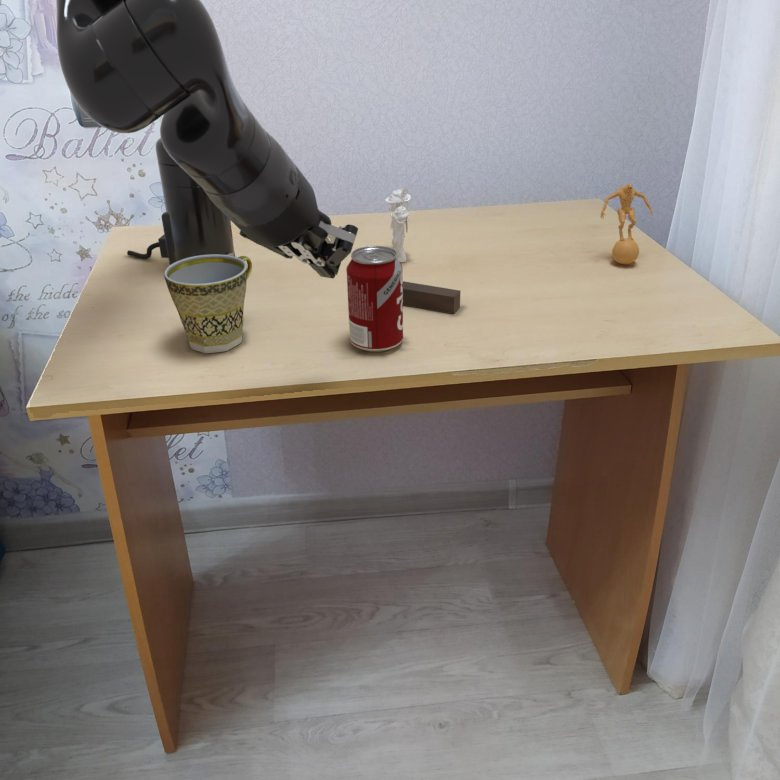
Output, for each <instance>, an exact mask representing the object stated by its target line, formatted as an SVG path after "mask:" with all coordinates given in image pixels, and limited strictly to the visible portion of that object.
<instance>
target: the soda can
mask: <svg viewBox="0 0 780 780" xmlns="http://www.w3.org/2000/svg"><path fill="white" fill-rule="evenodd" d="M350 258H351V259H350V261H349V263H348V264H347V266H346V285H347V286H346V288H347V310H348V328H349V329H348V331H349V332H348V333H349V341H350V343H351V345H353V346H354V347H355V348H358V349H359V350H362V351H365V352H369V353H383V352H386V351H387V352H388V351H390V350H392V349H393V348H396V347H398V346H400V344H402V342H403V340H404V305H403V281H404V280H403V279H404V278H403V275H404V273H403V271H404V270H403V269H404V268H403V265H402V262H399V261H398V259H397V252H396V251H395V250H394V249H393V247H390V246H389V247H388V246H384V245H367V246H362V247H358V248H356V249H354V250H353V251H351V253H350Z"/></svg>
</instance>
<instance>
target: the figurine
mask: <svg viewBox="0 0 780 780" xmlns="http://www.w3.org/2000/svg"><path fill="white" fill-rule="evenodd" d="M617 197H618V199H619V203H620V207H619V208H617V211H616V212H617V216H618V217H617V218H618V221H619V225H618V232H619V234H618V235H619V240H618V241H617V242H615V243H614V245H613V247H612V250H611V254H612V257H613V259H614V261H615V262H616V263H617V264H620V265H623V266H625V265H630V264H633V263H634V262H635V261H636V260H637V259H638V257H639V254H640V247H639V244H638V243H637V242H636V241H635V239H634V238H633V235H632V229H633V228H634V227H635V225H636V224H637V218H636V214H635V211H636V209H635V207H634V206H632V203H633V201H634V198H635V197H638V198H641V199H642V200H643V202H644V203H645V205H646V207H647V208H648V210H649V213H650V215H651V216H654V214H653V208H652V206H651V204H650V202H649V200H648V199H647V197H646V194H645V195H644V194H643V193H642V192H640V191H638V190H636V189H635V188H633V183H632V184H631V183H628V184H627V185H621V186H620V187H619V188H618V190H615V191H614V192H613V193H611V194H610V195H609V194H608V196H606V198H604V203H603V205H602V209H601V212H600V217H602V220H603V219H605V216H606V213H605V211H606V209H607V205H608V204H609V201H610V200H612V199H614V198H617ZM631 206H632V207H631ZM626 219H628V221H630V222H631V223H629V224H628V228H627V234H628V235H627V238H625V237H624V234H623V233H624V232H623V229H624V226H625V223H626Z"/></svg>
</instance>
